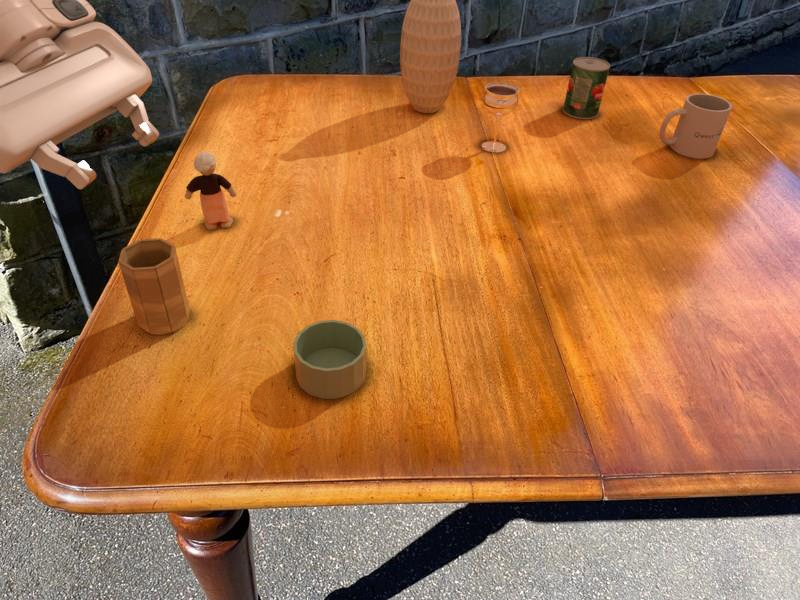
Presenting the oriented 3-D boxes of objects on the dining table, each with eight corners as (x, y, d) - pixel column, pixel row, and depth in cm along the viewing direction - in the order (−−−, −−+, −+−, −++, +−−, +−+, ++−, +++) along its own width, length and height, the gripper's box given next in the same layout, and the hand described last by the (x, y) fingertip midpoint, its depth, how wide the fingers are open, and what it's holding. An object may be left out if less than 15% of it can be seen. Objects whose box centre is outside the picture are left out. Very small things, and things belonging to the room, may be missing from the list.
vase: (428, 125, 135) (439, -19, 117) (386, 106, 141) (389, -33, 123) (466, 109, 142) (481, -29, 124) (424, 92, 149) (432, -42, 130)
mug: (707, 141, 134) (725, 95, 128) (718, 160, 128) (737, 113, 121) (648, 136, 135) (663, 90, 129) (657, 155, 129) (672, 107, 122)
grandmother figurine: (236, 213, 106) (226, 143, 98) (242, 225, 103) (231, 154, 95) (189, 223, 103) (174, 151, 95) (193, 235, 100) (179, 163, 92)
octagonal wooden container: (161, 343, 82) (142, 275, 75) (129, 322, 85) (108, 255, 77) (199, 316, 86) (185, 250, 79) (168, 298, 89) (151, 232, 82)
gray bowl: (335, 410, 75) (334, 381, 71) (281, 377, 78) (278, 348, 75) (379, 368, 80) (380, 339, 77) (326, 339, 84) (325, 310, 80)
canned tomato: (601, 120, 140) (613, 71, 133) (565, 118, 140) (576, 68, 133) (594, 105, 147) (606, 57, 139) (560, 103, 147) (570, 55, 139)
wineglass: (495, 157, 125) (504, 98, 117) (470, 145, 129) (477, 87, 121) (517, 148, 128) (527, 90, 121) (492, 136, 132) (500, 79, 124)
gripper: (-86, 59, 49) (56, 196, 53) (97, -6, 64) (197, 105, 68) (-102, 105, 53) (31, 229, 57) (73, 33, 68) (169, 136, 72)
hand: (122, 161), depth 62 cm, fingers open, 8 cm apart
